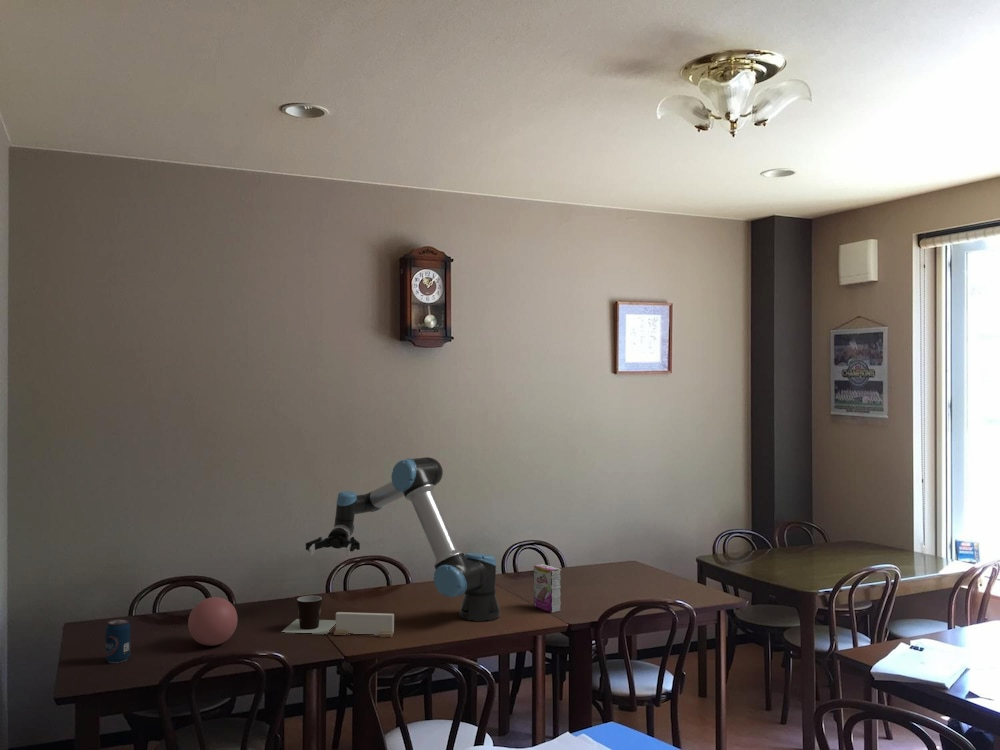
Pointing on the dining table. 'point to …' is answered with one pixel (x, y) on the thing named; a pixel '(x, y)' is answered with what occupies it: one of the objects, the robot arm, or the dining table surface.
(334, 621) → the mat
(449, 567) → the robot arm
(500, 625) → the dining table surface
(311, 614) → the coffee mug
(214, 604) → the balloon
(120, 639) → the soda can
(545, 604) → the candy bar box
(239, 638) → the dining table surface
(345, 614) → the white rectangular block
